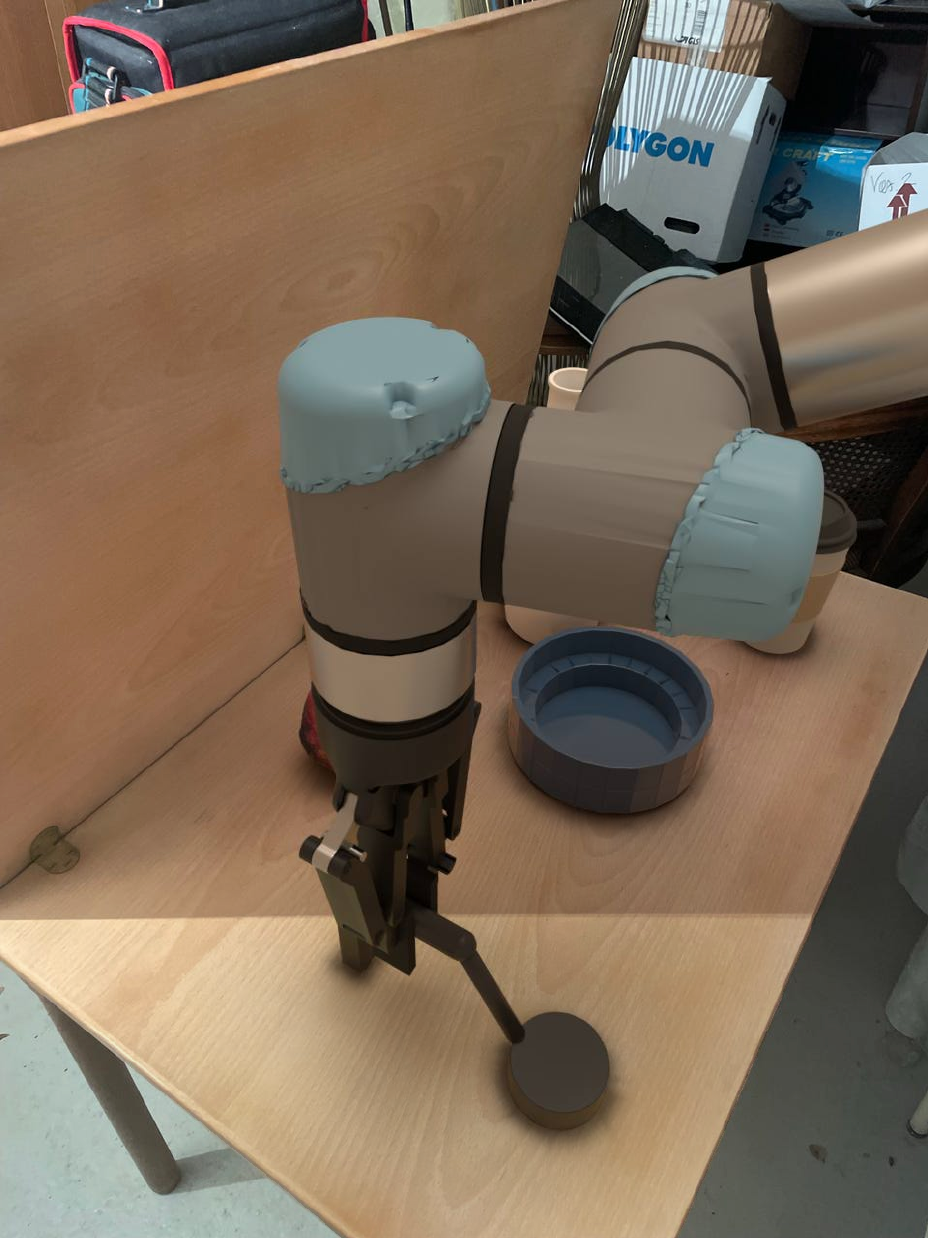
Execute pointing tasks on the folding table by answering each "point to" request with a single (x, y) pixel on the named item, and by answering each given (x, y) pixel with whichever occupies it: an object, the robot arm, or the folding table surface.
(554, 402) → the bottle
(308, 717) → the fruit
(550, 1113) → the ladle
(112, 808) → the folding table surface
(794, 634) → the coffee cup
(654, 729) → the bowl
